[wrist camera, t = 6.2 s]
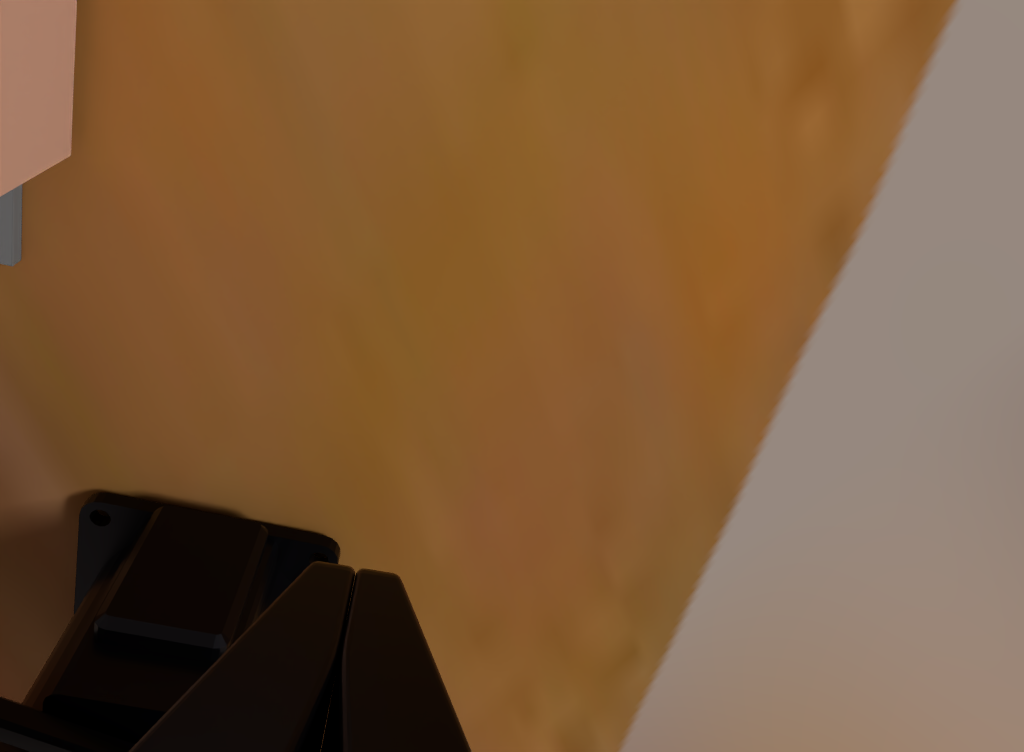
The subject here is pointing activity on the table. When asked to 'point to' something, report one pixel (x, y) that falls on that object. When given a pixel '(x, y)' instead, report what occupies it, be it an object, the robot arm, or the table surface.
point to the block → (35, 87)
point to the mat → (11, 226)
